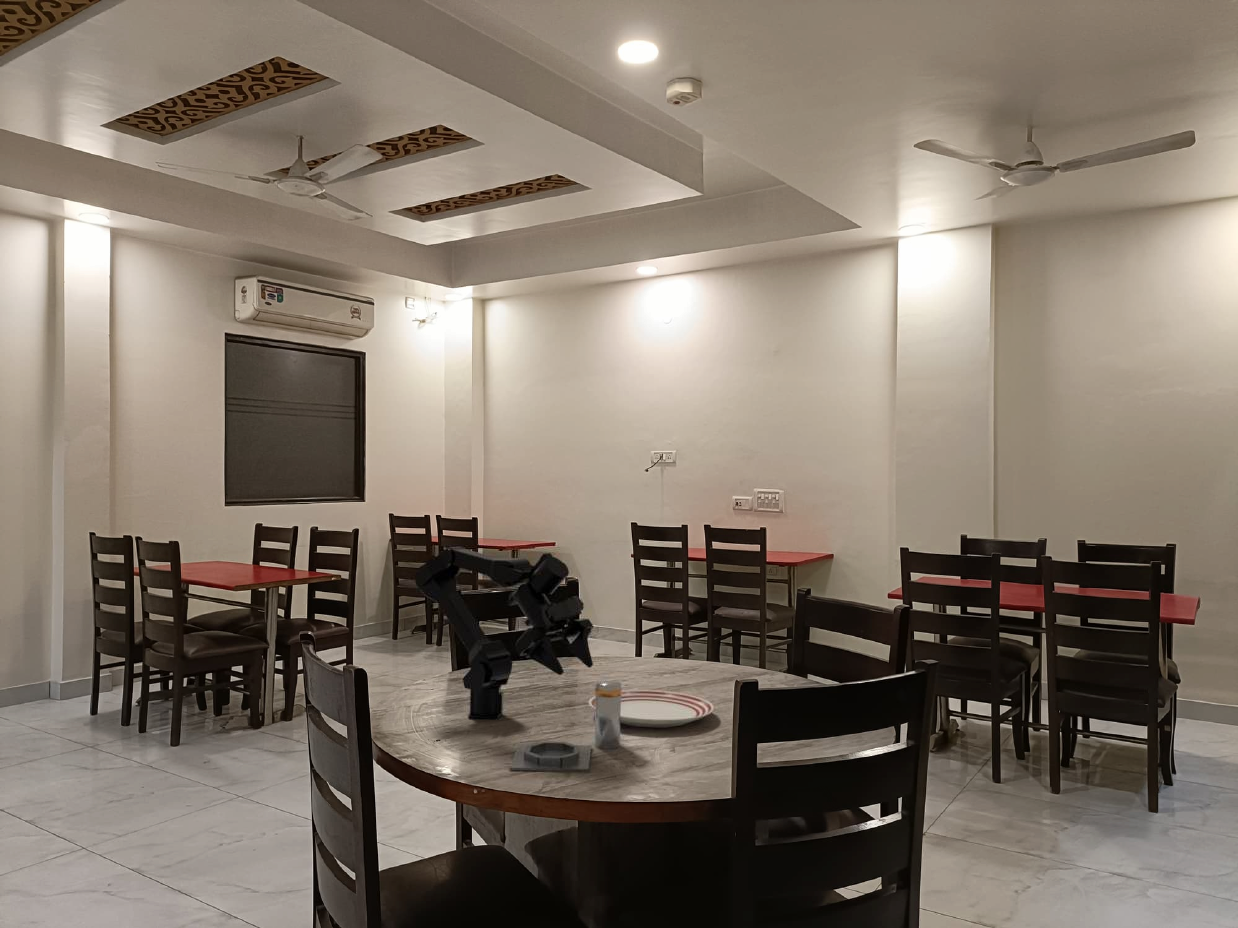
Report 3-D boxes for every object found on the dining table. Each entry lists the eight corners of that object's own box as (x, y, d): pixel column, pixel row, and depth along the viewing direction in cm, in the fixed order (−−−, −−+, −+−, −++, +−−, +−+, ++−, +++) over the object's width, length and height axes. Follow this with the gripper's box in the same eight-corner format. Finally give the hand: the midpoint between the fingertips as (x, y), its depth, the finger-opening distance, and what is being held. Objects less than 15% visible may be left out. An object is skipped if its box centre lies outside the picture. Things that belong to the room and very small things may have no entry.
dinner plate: (640, 695, 217) (640, 681, 217) (737, 716, 200) (738, 701, 200) (562, 717, 196) (562, 702, 196) (663, 743, 179) (664, 726, 179)
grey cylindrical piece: (593, 748, 173) (594, 686, 174) (594, 741, 179) (595, 680, 179) (620, 749, 173) (621, 686, 173) (620, 741, 179) (621, 680, 179)
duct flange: (509, 770, 160) (509, 760, 160) (518, 746, 174) (519, 737, 174) (588, 771, 160) (588, 762, 160) (591, 747, 174) (591, 739, 174)
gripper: (527, 587, 177) (569, 652, 170) (587, 580, 192) (628, 639, 185) (497, 623, 182) (537, 687, 175) (558, 613, 197) (596, 671, 190)
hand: (576, 669), depth 181 cm, fingers open, 9 cm apart
